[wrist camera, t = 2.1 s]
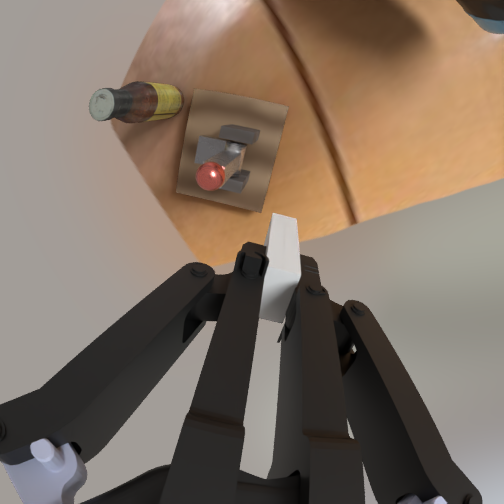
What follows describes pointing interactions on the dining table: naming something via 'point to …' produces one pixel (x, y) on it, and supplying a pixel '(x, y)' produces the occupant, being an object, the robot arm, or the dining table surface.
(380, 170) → the dining table surface
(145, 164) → the dining table surface
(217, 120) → the base
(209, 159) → the lever
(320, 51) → the dining table surface
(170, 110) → the sauce bottle
